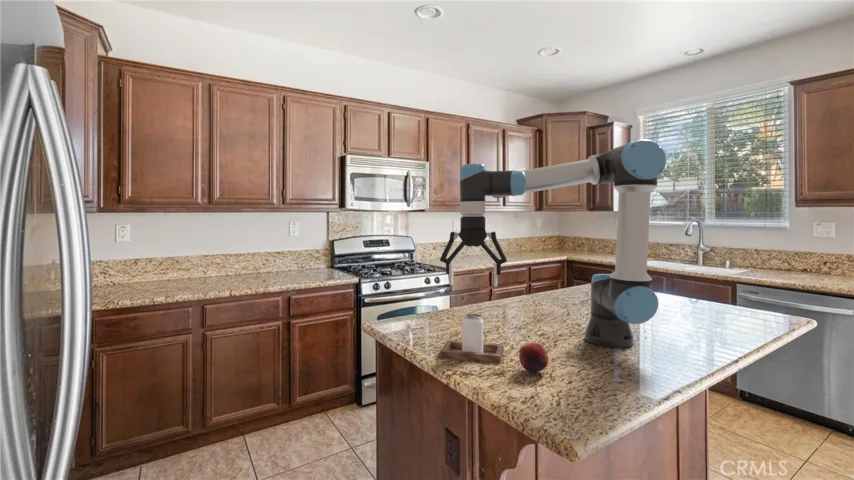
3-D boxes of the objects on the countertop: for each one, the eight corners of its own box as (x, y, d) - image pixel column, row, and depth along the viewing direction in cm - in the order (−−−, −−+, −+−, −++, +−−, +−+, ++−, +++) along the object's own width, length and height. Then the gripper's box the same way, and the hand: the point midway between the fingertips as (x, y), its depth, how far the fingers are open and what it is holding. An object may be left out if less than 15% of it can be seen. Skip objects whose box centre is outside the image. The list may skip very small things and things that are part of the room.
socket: (503, 350, 130) (503, 344, 130) (500, 362, 119) (500, 356, 119) (447, 346, 134) (447, 340, 134) (440, 357, 124) (440, 351, 124)
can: (482, 358, 123) (482, 319, 122) (460, 357, 124) (461, 318, 124) (483, 351, 129) (484, 314, 129) (463, 350, 131) (463, 313, 130)
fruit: (547, 368, 115) (547, 340, 115) (549, 378, 108) (549, 349, 107) (519, 366, 117) (519, 338, 116) (518, 376, 109) (519, 347, 109)
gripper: (515, 215, 125) (515, 284, 126) (435, 216, 131) (436, 281, 132) (514, 215, 117) (514, 288, 119) (429, 216, 124) (430, 285, 125)
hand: (473, 285), depth 126 cm, fingers open, 13 cm apart
